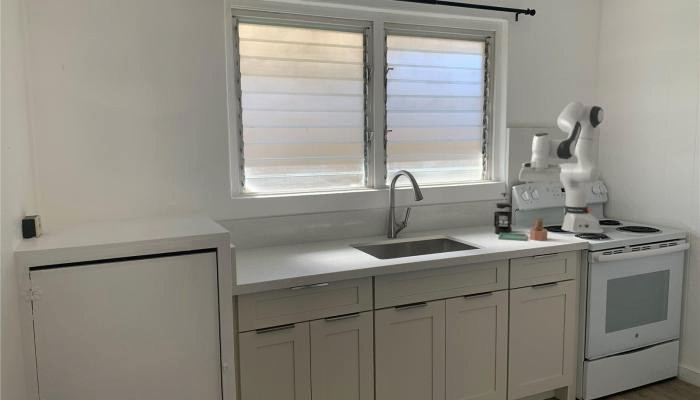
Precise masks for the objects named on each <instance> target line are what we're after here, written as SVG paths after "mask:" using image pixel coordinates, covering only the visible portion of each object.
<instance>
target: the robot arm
mask: <svg viewBox="0 0 700 400" xmlns="http://www.w3.org/2000/svg"><path fill="white" fill-rule="evenodd" d="M603 118H604V109H602V107H601V106H597V105H594V106H592V105H584V104H583V103H582V102H579V101H576V100H575V101H571V102H570V103H568V105H566V106H565V107H564V108H563V110H562V111H561V113H560V114H559V116H558V117H557V119H556V122H557V123H556V124H557V127H558V128H559V129H560V130H561V132H564V133H567V134H568V136H567V138H565V139H552V138H551V137H550V133H547V132H538V133H536V134H534V135H533V139H532V143H531V144H532V146H531V152H532V153H531V154H532V155H531V159H530V161H527V162H523V163H522V164H521V166H522V167H521V169H520V171H519V174H518V175H519V176H518V180H519V181H520V182H525V185H526V187H527V191H531V186H529V183H548V184H549V186H548V187H547V188H546V192H551V187H552V186H553V184H559V183H560V182H561V184H562V185H563V188H564V192H565V205H564V209H563V213H564V218H563V223H562V226H561V230H563V231H566V232H571V233H575V234H578V233H581V234H582V233H583V234H602V233H604V229H603V228H601V227H600V226H601V225H600V221H599V219H597V218H596V217H595V216H594V215H593V214H591V211H592V209H591V208H590V207H588V206H587V192H586V191H585V190H584V189H582V188H581V185H580V183H581V184H591V183H596V182H597V181H598V180H599V179H600V177H601V170H600V167H598V165H597V164H596V163H595V161H594V157H593V151H594V145H595V139H596V131H597V127H598V126H599V125H600V124H601V123H602V122H603V120H604V119H603ZM573 156H574V157H576V158H577V163H576V162H575V163H574V162H565V163H559V164H550V159H561V160H569V159H571V158H572V157H573Z"/></svg>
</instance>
